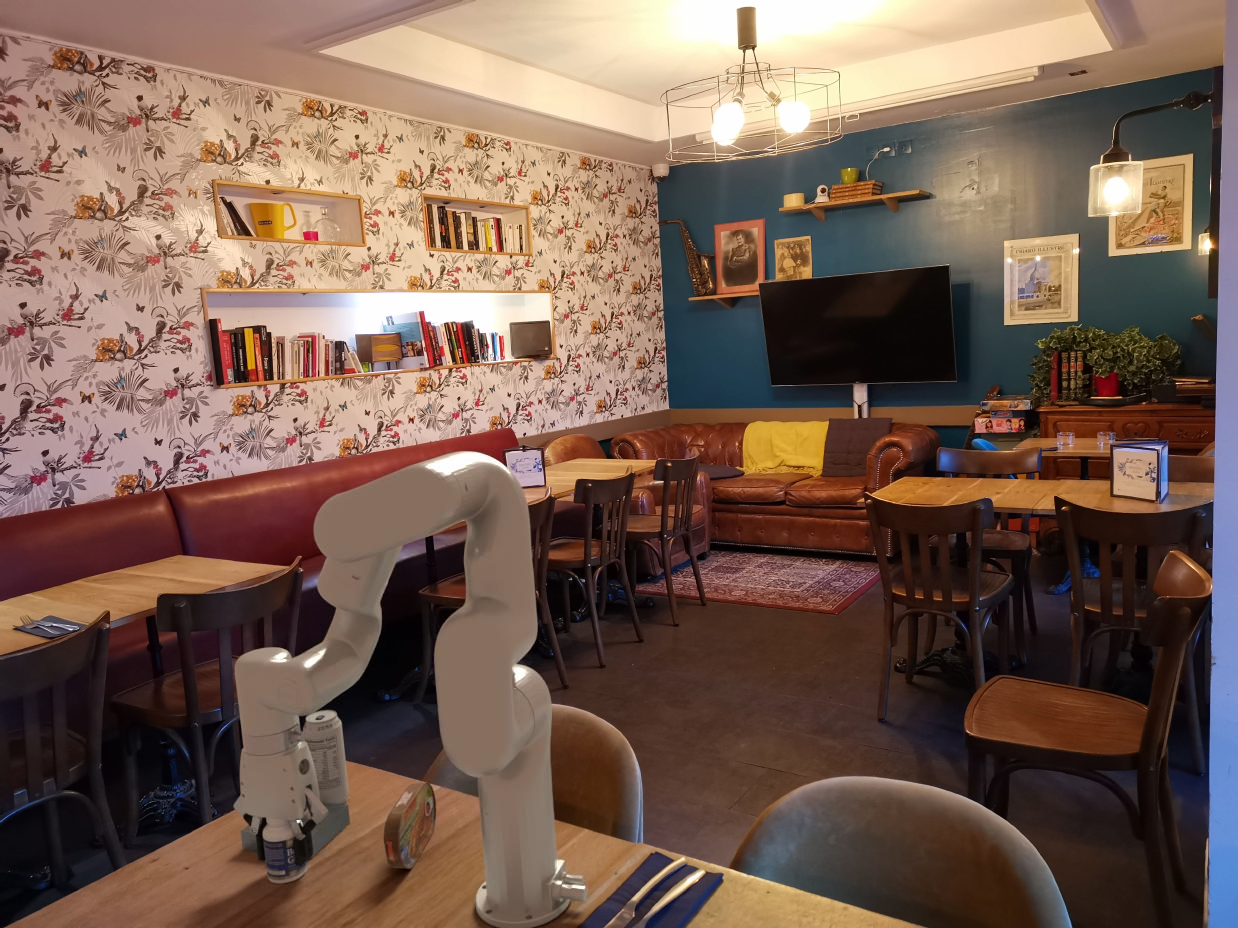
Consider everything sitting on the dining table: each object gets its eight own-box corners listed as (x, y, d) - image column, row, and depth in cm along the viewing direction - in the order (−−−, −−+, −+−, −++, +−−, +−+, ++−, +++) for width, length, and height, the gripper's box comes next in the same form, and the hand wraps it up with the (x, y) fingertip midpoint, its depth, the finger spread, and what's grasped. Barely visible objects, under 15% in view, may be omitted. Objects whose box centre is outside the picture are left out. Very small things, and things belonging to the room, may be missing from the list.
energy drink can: (355, 793, 150) (346, 708, 148) (340, 811, 144) (331, 723, 142) (320, 793, 150) (311, 708, 148) (304, 812, 145) (295, 724, 143)
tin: (405, 880, 124) (399, 824, 123) (383, 880, 124) (377, 823, 123) (439, 823, 139) (435, 772, 138) (420, 823, 139) (415, 772, 138)
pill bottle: (294, 885, 124) (286, 820, 123) (260, 883, 125) (251, 818, 124) (315, 863, 129) (307, 800, 128) (281, 861, 131) (274, 798, 129)
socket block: (350, 822, 140) (348, 804, 140) (311, 858, 131) (309, 839, 130) (285, 815, 144) (283, 797, 143) (242, 849, 134) (240, 830, 134)
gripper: (340, 730, 126) (353, 850, 128) (239, 722, 131) (253, 837, 133) (308, 754, 119) (322, 880, 121) (202, 744, 124) (217, 866, 126)
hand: (286, 856), depth 127 cm, fingers closed on pill bottle, 5 cm apart
